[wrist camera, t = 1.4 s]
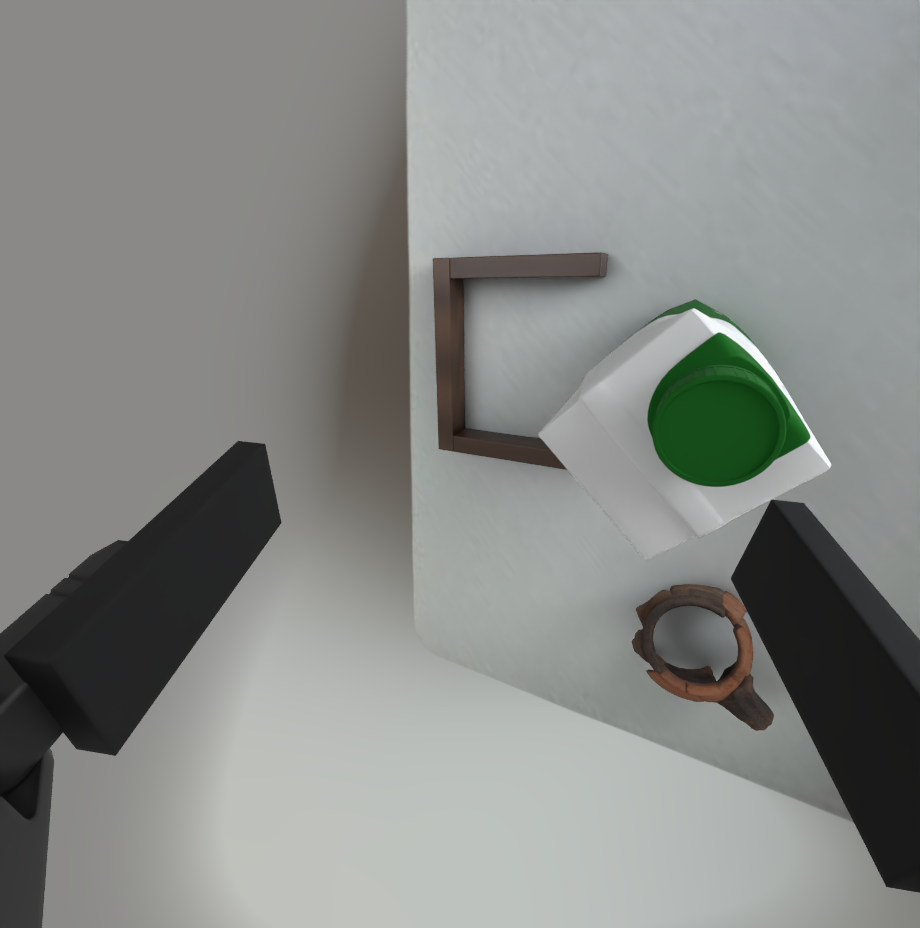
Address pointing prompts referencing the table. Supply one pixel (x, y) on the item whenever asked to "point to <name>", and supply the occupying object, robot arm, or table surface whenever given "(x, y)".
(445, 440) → the bay
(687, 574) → the table surface
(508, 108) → the table surface
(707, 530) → the white and green carton
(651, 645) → the broken clay pot
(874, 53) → the table surface
